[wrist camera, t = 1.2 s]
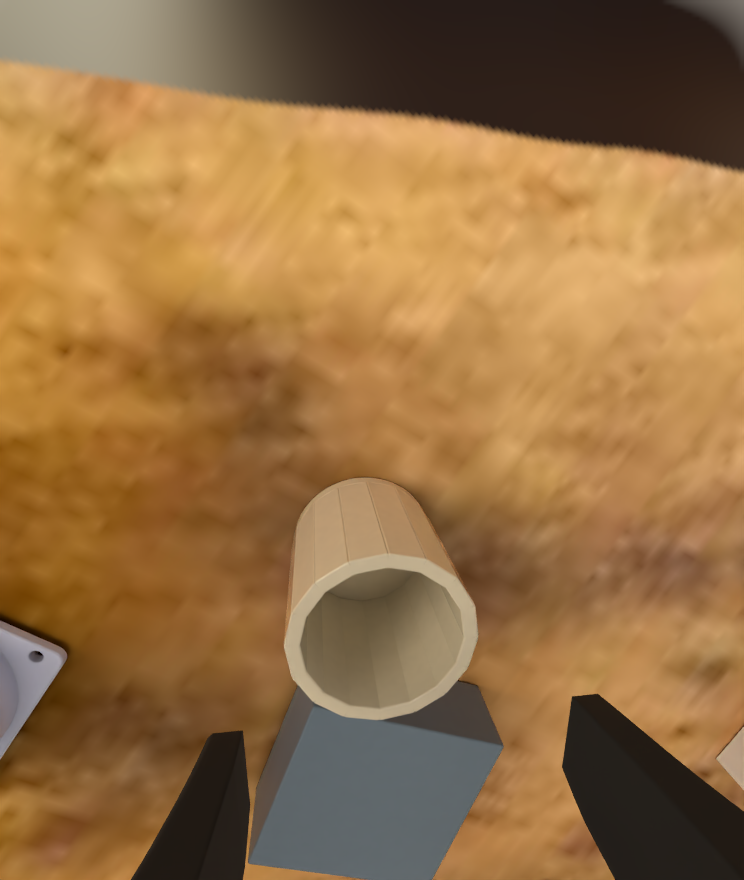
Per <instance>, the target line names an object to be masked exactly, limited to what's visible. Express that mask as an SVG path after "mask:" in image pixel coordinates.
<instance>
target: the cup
mask: <svg viewBox="0 0 744 880" xmlns="http://www.w3.org/2000/svg"><path fill="white" fill-rule="evenodd" d="M478 635H479V634H478V625H477V616H476V607H475V604H474V602H473V600H472V598H471V596H470V594H469V592H468V590H467V589H466V587H465V585H464V583H463V581H462V579H461V577H460V576H459V574H458V572H457V570H456V568H455V566H454V564H453V563H452V561H451V559H450V557H449V555H448V553H447V551H446V550H445V548H444V546H443V544H442V542H441V540H440V538H439V537H438V535H437V533H436V531H435V529H434V527H433V525H432V524H431V522H430V520H429V519H428V517H427V516H426V514H425V512H424V510H423V509H422V507H421V505H420V504H419V503H418V501H417V500H416V499H415V498H414V497H413V496H412V495H411V494H410V493H409V492H408V491H406V490H405V489H404V488H402V487H400V486H398V485H397V484H394V483H392V482H389V481H386V480H382V479H377V478H354V479H349V480H345V481H341V482H339V483H336V484H334V485H332V486H330V487H328V488H326V489H325V490H323V491H322V492H320V493H319V494H318V495H317V496H315V497H314V498H313V499H312V500H311V501H310V502H309V504H308V505H307V506H306V507H305V509H304V510H303V512H302V514H301V515H300V517H299V520H298V522H297V525H296V528H295V533H294V540H293V546H292V552H291V564H290V576H289V588H288V600H287V612H286V625H285V637H284V650H285V653H286V657H287V661H288V665H289V669H290V673H291V676H292V678H293V680H294V681H295V682H296V683H297V684H298V685H299V687H300V688H301V689H302V690H303V691H304V692H305V693H306V695H307V696H308V697H309V698H310V699H311V700H312V701H313V702H314V703H315V704H317V705H320V706H322V707H324V708H326V709H328V710H330V711H332V712H334V713H336V714H338V715H341V716H343V717H344V716H345V717H347V718H358V719H369V720H379V719H380V720H384V719H388V718H392V717H397V716H401V715H406V714H410V713H414V711H415V712H417V711H418V710H420V709H422V708H423V707H425V706H427V705H428V704H430V703H432V702H433V701H435V700H437V699H439V698H440V697H442V696H444V695H445V693H447V692H448V691H449V690H450V689H451V687H452V686H453V685H454V684H455V683H456V682H457V680H458V679H459V678H460V677H461V676H462V675H463V673H464V672H465V671H466V670H467V667H469V664H470V661H471V658H472V655H473V652H474V649H475V646H476V643H477V640H478Z"/></svg>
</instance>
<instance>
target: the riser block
mask: <svg viewBox="0 0 744 880" xmlns="http://www.w3.org/2000/svg"><path fill="white" fill-rule="evenodd" d="M503 747H504V746H503V743H502V741H501V738H500V736H499V734H498V731H497V729H496V727H495V725H494V722H493V720H492V718H491V715H490V713H489V711H488V708H487V706H486V704H485V701H484V699H483V697H482V694H481V692H480V690H479V687H478V686H476V685H472V684H468V683H464V682H459V681H457V682H456V683H455V684H454V685H453V686H452V687H451V689H450V690H449V691H448V692H447V693H445V695H444V696H442V697H440V698H439V699H437V700H435V701H433V702H432V703H430V704H428V705H427V706H425V707H423V708H422V709H420V710H418V711H417V712H415V711H414V713H410V714H406V715H401V716H397V717H392V718H388V719H384V720H380V719H379V720H369V719H358V718H347V717H345V716H344V717H343V716H341V715H338V714H336V713H334V712H332V711H330V710H328V709H326V708H324V707H322V706H320V705H317V704H315V703H314V702H313V701H312V700H311V699H310V698H309V697H308V696H307V695H306V693H305V692H304V691H303V690H302V689H301V688H300V687H299V685H298V686H297V688H296V691H295V693H294V696H293V698H292V701H291V703H290V706H289V708H288V711H287V713H286V716H285V718H284V721H283V723H282V726H281V728H280V730H279V733H278V735H277V738H276V740H275V743H274V745H273V748H272V750H271V753H270V755H269V758H268V760H267V763H266V765H265V768H264V770H263V773H262V775H261V777H260V780H259V782H258V785H257V787H256V796H255V805H254V813H253V822H252V831H251V839H250V848H249V857H248V863H249V864H254V865H262V866H269V867H277V868H285V869H292V870H300V871H307V872H315V873H322V874H330V875H337V876H345V877H352V878H360V879H368V880H432V879H433V877H434V875H435V873H436V871H437V869H438V868H439V866H440V864H441V862H442V860H443V858H444V856H445V855H446V853H447V851H448V849H449V847H450V845H451V844H452V842H453V840H454V838H455V836H456V834H457V832H458V831H459V829H460V827H461V825H462V823H463V821H464V820H465V818H466V816H467V814H468V812H469V810H470V808H471V807H472V805H473V803H474V801H475V799H476V797H477V796H478V794H479V792H480V790H481V788H482V786H483V784H484V783H485V781H486V779H487V777H488V775H489V773H490V772H491V770H492V768H493V766H494V764H495V762H496V760H497V759H498V757H499V755H500V753H501V751H502V749H503Z"/></svg>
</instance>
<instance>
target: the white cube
mask: <svg viewBox="0 0 744 880" xmlns="http://www.w3.org/2000/svg"><path fill="white" fill-rule="evenodd" d="M716 760H717V761H718V762H719V763H720V764H721V765H722V766H723V767H724V769H725V770H726V771H727V772H728V773H729V774H730V775H731V776H732V778H733V779H734V780H735V781H736V782H737V783H738V784H739V786H740V787H741V788H742V789H743V790H744V727H743V728H742V729H741V730H740V731H739V733H738V734H737V735H736V736H735V737H734V738H733V740H732V741H731V742H730V743H729V744H728V745H727V747H726V748H725V749H724V750H723V751H722V752H721V754H720V755H719V756H718V757H717V758H716Z"/></svg>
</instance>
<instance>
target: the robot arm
mask: <svg viewBox="0 0 744 880" xmlns="http://www.w3.org/2000/svg"><path fill="white" fill-rule="evenodd" d="M35 651H39V652H40V653H42V654H43V655H38V654H37V653H36V652H35ZM66 659H67V653H66V652H65V650H64V649H63V648H61V647H59V646H57V645H55V644H53V643H50V642H48V641H46V640H44V639H41V638H39V637H37V636H34V635H32V634H30V633H28V632H25V631H23V630H21V629H19V628H16V627H14V626H12V625H9V624H7V623H5V622H3V621H0V759H1V757H2V756H3V754H4V753H5V751H6V750H7V748H8V747H9V745H10V744H11V742H12V741H13V739H14V738H15V736H16V735H17V733H18V732H19V730H20V729H21V728H22V726H23V725H24V723H25V722H26V720H27V719H28V717H29V716H30V714H31V713H32V711H33V710H34V708H35V707H36V705H37V704H38V702H39V701H40V699H41V698H42V696H43V695H44V693H45V692H46V690H47V689H48V687H49V686H50V684H51V683H52V681H53V680H54V678H55V677H56V675H57V674H58V672H59V671H60V669H61V668H62V666H63V665H64V663H65V662H66ZM562 768H563V771H564V773H565V776H566V778H567V781H568V783H569V786H570V788H571V791H572V793H573V796H574V798H575V800H576V803H577V805H578V807H579V810H580V812H581V814H582V817H583V819H584V821H585V823H586V825H587V827H588V829H589V831H590V833H591V835H592V837H593V839H594V841H595V842H596V844H597V846H598V848H599V850H600V852H601V854H602V856H603V858H604V859H605V861H606V863H607V865H608V867H609V869H610V871H611V873H612V874H613V876H614V878H615V880H744V811H742V810H741V809H740V808H738V807H737V806H736V805H734V804H733V803H732V802H730V801H729V800H728V799H726V798H725V797H724V796H723V795H721V794H720V793H719V792H717V791H716V790H715V789H714V788H712V787H711V786H710V785H708V784H707V783H706V782H705V781H703V780H702V779H701V778H700V777H698V776H697V775H696V774H694V773H693V772H692V771H691V770H689V769H688V768H687V767H686V766H685V765H683V764H682V763H681V762H680V761H678V760H677V759H676V758H675V757H673V756H672V755H671V754H670V753H669V752H667V751H666V750H665V749H664V748H662V747H661V746H660V745H659V744H658V743H656V742H655V741H654V740H653V739H652V738H650V737H649V736H648V735H647V734H646V733H644V732H643V731H642V730H641V729H640V728H638V727H637V726H636V725H635V724H634V723H632V722H631V721H630V720H629V719H628V718H626V717H625V716H624V715H623V714H622V713H620V712H619V711H618V710H617V709H616V708H614V707H613V706H612V705H611V704H610V703H608V702H607V701H606V700H605V699H603V698H602V697H601V696H600V695H598V694H593V695H583V696H573V697H572V701H571V708H570V715H569V722H568V729H567V737H566V744H565V751H564V758H563V765H562ZM249 812H250V799H249V789H248V779H247V769H246V759H245V749H244V739H243V731H233V732H224V733H214V734H212V735H211V736H210V737H209V738H208V739H207V740H206V743H205V745H204V747H203V749H202V752H201V754H200V756H199V758H198V760H197V762H196V764H195V766H194V768H193V770H192V772H191V774H190V776H189V778H188V780H187V782H186V784H185V786H184V788H183V790H182V792H181V793H180V795H179V797H178V799H177V801H176V803H175V805H174V807H173V808H172V810H171V812H170V814H169V816H168V817H167V819H166V821H165V823H164V824H163V826H162V828H161V830H160V831H159V833H158V835H157V837H156V838H155V840H154V842H153V844H152V846H151V847H150V849H149V851H148V852H147V854H146V856H145V858H144V859H143V861H142V863H141V864H140V866H139V867H138V869H137V871H136V872H135V874H134V875H133V877H132V879H131V880H243V875H244V869H245V859H246V848H247V837H248V824H249Z"/></svg>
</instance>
